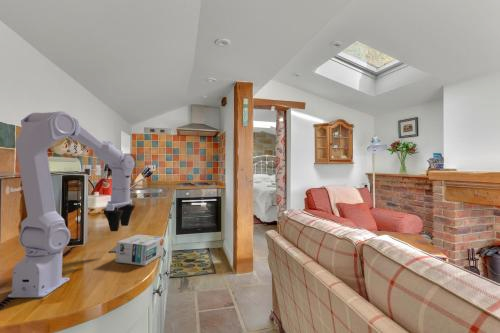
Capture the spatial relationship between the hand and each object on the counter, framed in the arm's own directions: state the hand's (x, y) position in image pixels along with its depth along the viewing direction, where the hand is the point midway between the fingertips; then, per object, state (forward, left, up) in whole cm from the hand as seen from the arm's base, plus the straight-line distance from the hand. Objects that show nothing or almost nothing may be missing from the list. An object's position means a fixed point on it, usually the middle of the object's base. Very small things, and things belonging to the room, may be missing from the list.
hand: (119, 228), depth 85 cm
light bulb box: (-1, -3, -6) cm, 7 cm away
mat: (+9, +1, -10) cm, 13 cm away
